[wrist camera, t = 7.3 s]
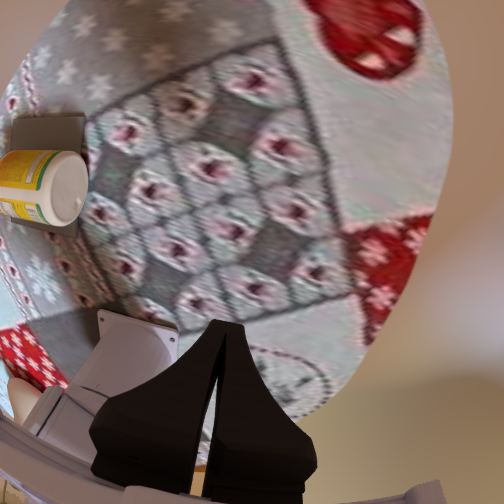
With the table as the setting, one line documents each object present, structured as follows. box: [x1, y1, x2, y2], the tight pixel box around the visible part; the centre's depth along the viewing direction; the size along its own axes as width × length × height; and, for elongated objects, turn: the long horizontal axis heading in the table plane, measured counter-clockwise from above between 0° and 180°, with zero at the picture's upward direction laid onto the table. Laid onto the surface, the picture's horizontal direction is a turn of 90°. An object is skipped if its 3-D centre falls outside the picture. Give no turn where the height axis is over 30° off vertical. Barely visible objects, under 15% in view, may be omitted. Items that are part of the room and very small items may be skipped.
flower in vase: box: [0, 378, 43, 504], centre depth 21 cm, size 13×11×25 cm
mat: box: [11, 117, 85, 238], centre depth 19 cm, size 10×9×1 cm
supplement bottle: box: [0, 150, 88, 226], centre depth 17 cm, size 5×5×10 cm
